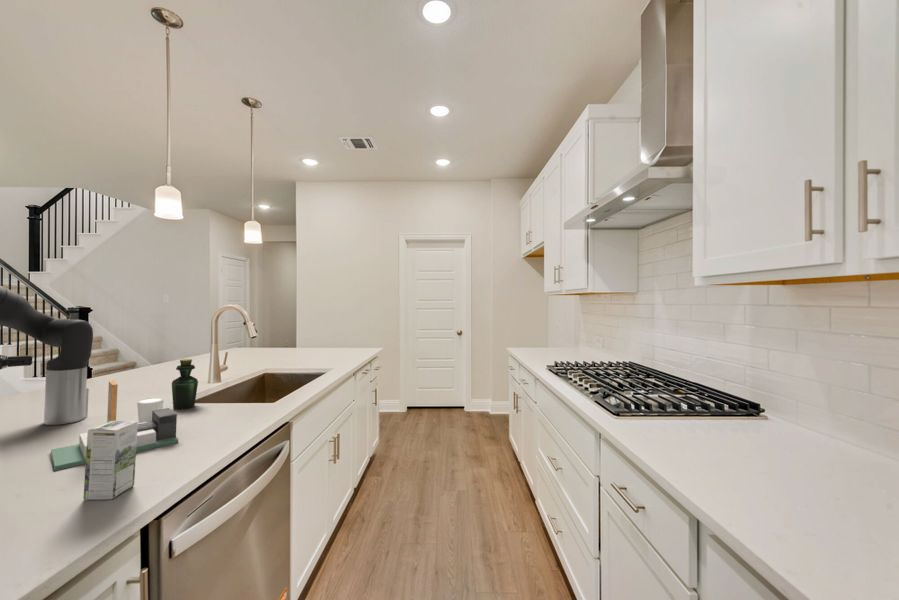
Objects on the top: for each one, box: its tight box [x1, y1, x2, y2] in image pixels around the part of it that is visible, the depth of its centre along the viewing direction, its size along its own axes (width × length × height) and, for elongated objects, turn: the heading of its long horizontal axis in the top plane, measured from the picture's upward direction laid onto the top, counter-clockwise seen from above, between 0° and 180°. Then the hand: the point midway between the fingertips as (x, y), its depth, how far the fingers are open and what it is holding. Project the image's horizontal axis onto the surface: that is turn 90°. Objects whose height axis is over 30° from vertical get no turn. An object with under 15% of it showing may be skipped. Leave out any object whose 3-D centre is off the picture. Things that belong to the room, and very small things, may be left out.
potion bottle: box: [171, 358, 199, 410], centre depth 136 cm, size 8×8×18 cm
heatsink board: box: [50, 407, 179, 471], centre depth 98 cm, size 24×14×8 cm, turn 140°
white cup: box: [136, 397, 165, 423], centre depth 120 cm, size 7×7×7 cm
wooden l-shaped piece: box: [106, 380, 158, 430], centre depth 102 cm, size 12×6×14 cm, turn 140°
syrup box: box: [83, 420, 139, 501], centre depth 76 cm, size 6×6×14 cm
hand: (32, 360), depth 86 cm, fingers closed
